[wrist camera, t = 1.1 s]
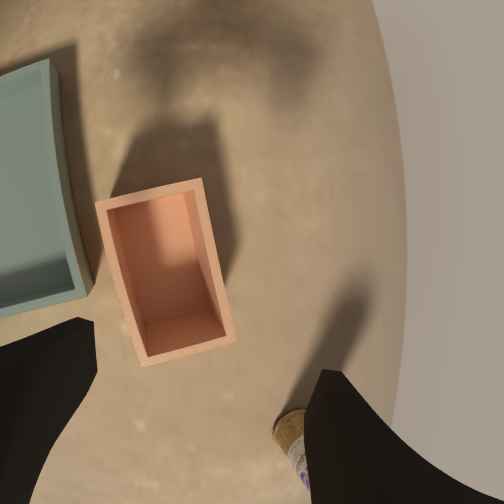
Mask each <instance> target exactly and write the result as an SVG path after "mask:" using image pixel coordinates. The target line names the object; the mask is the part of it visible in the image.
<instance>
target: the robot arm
mask: <svg viewBox="0 0 504 504" xmlns="http://www.w3.org/2000/svg"><path fill="white" fill-rule="evenodd" d="M97 371H98V370H97V360H96V349H95V335H94V322H93V321H89V320H86V319H83V318H80V317H76V318H73V319H70V320H68V321H65V322H62V323H60V324H57V325H55V326H53V327H50V328H48V329H45V330H43V331H41V332H38V333H36V334H33V335H31V336H28V337H26V338H23V339H20V340H18V341H15V342H12V343H9V344H7V345H4V346H1V347H0V504H29V502H30V499H31V496H32V493H33V490H34V487H35V485H36V482H37V480H38V477H39V475H40V472H41V470H42V467H43V465H44V463H45V461H46V459H47V456H48V454H49V452H50V450H51V448H52V447H53V445H54V443H55V441H56V440H57V438H58V437H59V435H60V434H61V432H62V431H63V429H64V428H65V426H66V425H67V423H68V422H69V420H70V419H71V417H72V416H73V414H74V413H75V411H76V410H77V408H78V407H79V405H80V404H81V402H82V401H83V399H84V398H85V396H86V394H87V392H88V390H89V388H90V386H91V384H92V382H93V380H94V378H95V376H96V374H97ZM304 448H305V455H306V463H307V470H308V478H309V485H310V493H311V502H312V504H504V501H502V500H499V499H496V498H494V497H491V496H488V495H486V494H483V493H481V492H479V491H476V490H474V489H472V488H470V487H468V486H466V485H464V484H462V483H460V482H459V481H457V480H455V479H453V478H452V477H450V476H448V475H447V474H445V473H444V472H442V471H441V470H439V469H438V468H436V467H435V466H433V465H432V464H430V463H429V462H428V461H426V460H425V459H424V458H422V457H421V456H420V455H419V454H417V452H415V451H414V450H413V449H412V448H411V447H409V446H408V445H407V444H406V443H405V442H404V441H403V440H401V439H400V438H399V437H398V436H397V435H396V434H395V433H394V432H393V431H392V430H391V429H390V428H389V427H388V426H387V425H386V423H385V422H384V421H383V420H382V419H381V418H380V417H379V416H378V415H377V414H376V412H375V411H374V410H373V409H372V408H371V407H370V406H369V404H368V403H367V402H366V401H365V400H364V398H363V397H362V396H361V395H360V394H359V392H358V391H357V390H356V389H355V387H354V386H353V385H352V384H351V383H350V381H349V380H348V379H347V378H346V377H345V375H344V374H343V373H342V372H341V371H333V370H324V369H322V371H321V374H320V376H319V379H318V382H317V384H316V387H315V389H314V392H313V394H312V397H311V399H310V402H309V404H308V407H307V409H306V412H305V414H304Z"/></svg>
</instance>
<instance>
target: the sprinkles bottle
mask: <svg viewBox="0 0 504 504" xmlns="http://www.w3.org/2000/svg"><path fill="white" fill-rule="evenodd" d="M305 412H306V410H305V409H300V410H295V411H291V412H290V413H288V414H286V415H285V416H284V417H282V418H281V419H280V420H279V421H278V422H277V423H276V425H275V427H274V430H273V439H274V441H275V442H276V444H278V445H279V446H280V448H281V449H282V450H283V452H284V454H285V455H286V457H287V458H288V461H289V463H290V464H291V466H292V467H293V469H294V470H295V472H296V473H297V474H298V476H299V477H300V479H301V480H302V482H303V483H304V484H305V486H306V487H307V489H308V490H309V492H310V485H309V478H308V470H307V463H306V455H305V448H304V414H305Z"/></svg>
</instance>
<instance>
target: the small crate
mask: <svg viewBox="0 0 504 504" xmlns="http://www.w3.org/2000/svg"><path fill="white" fill-rule="evenodd" d="M95 207H96V212H97V216H98V221H99V226H100V230H101V234H102V239H103V243H104V247H105V251H106V255H107V259H108V262H109V266H110V270H111V274H112V277H113V281H114V284H115V288H116V291H117V295H118V298H119V301H120V304H121V308H122V311H123V314H124V317H125V320H126V323H127V326H128V329H129V332H130V335H131V338H132V341H133V344H134V347H135V349H136V352H137V355H138V358H139V360H140V363H141V366H142V367H145V366H149V365H153V364H157V363H161V362H165V361H169V360H172V359H176V358H180V357H183V356H187V355H191V354H194V353H198V352H201V351H205V350H208V349H212V348H215V347H219V346H222V345H226V344H229V343H232V342H235V341H237V340H236V335H235V331H234V327H233V323H232V318H231V314H230V310H229V305H228V301H227V296H226V292H225V287H224V283H223V278H222V274H221V269H220V265H219V260H218V255H217V251H216V246H215V241H214V236H213V232H212V227H211V222H210V217H209V212H208V207H207V202H206V197H205V192H204V187H203V182H202V178H197V179H192V180H187V181H183V182H178V183H173V184H169V185H164V186H160V187H155V188H151V189H147V190H142V191H138V192H134V193H130V194H126V195H122V196H118V197H114V198H110V199H106V200H102V201H99V202H95Z"/></svg>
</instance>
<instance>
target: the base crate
mask: <svg viewBox="0 0 504 504" xmlns="http://www.w3.org/2000/svg"><path fill="white" fill-rule="evenodd" d="M94 285H95V284H94V280H93V277H92V273H91V270H90V266H89V262H88V259H87V255H86V251H85V247H84V243H83V239H82V234H81V230H80V226H79V221H78V216H77V212H76V207H75V202H74V196H73V191H72V185H71V180H70V174H69V167H68V161H67V153H66V146H65V138H64V129H63V119H62V108H61V94H60V75H59V73H58V71H57V70H56V68H55V67H54V65H53V63H52V62H51V60H50V58H48V59H45V60H42V61H39V62H36V63H33V64H31V65H28V66H25V67H22V68H20V69H17V70H15V71H12V72H10V73H7V74H5V75H2V76H0V319H1V318H5V317H9V316H12V315H16V314H20V313H24V312H28V311H32V310H36V309H40V308H44V307H48V306H52V305H56V304H60V303H64V302H68V301H72V300H76V299H80V298H84V297H87V296H88V295H89V293H90V291H91V290H92V288H93V287H94Z"/></svg>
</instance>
